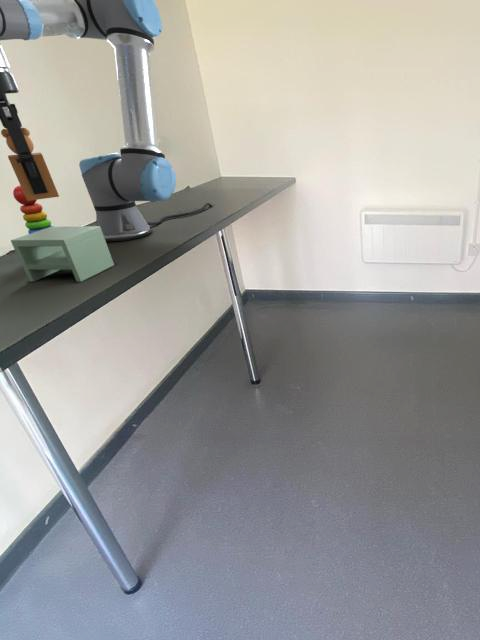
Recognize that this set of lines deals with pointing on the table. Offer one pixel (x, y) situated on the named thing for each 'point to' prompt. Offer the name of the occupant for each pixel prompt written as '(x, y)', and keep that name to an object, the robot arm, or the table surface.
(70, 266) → the pale green square stand
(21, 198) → the stacking toy
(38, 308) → the table surface
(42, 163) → the plush bear
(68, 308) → the table surface
